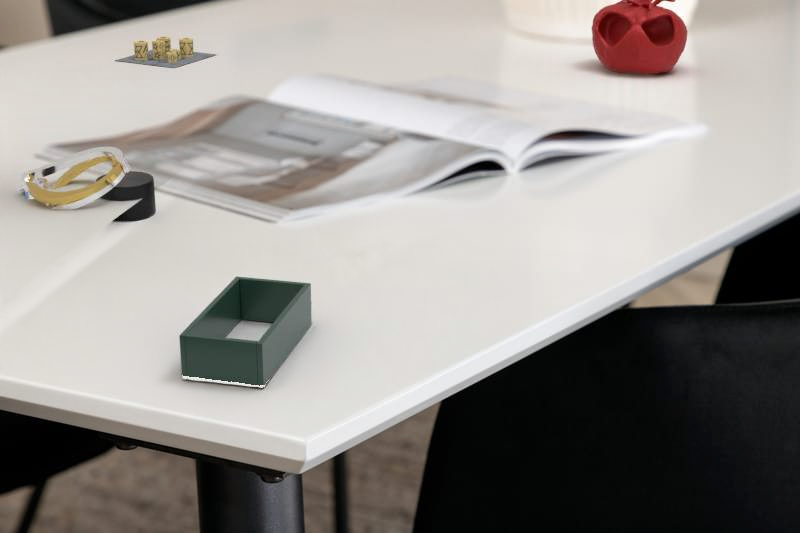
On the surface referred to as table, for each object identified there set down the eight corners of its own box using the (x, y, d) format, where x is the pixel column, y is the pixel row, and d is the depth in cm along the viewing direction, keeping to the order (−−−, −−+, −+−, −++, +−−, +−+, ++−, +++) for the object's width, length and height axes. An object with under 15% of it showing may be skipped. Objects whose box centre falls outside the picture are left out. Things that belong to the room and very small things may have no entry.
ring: (144, 157, 91) (44, 187, 92) (125, 120, 89) (23, 152, 91) (130, 210, 86) (23, 242, 87) (109, 171, 84) (1, 204, 85)
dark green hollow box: (181, 379, 65) (179, 335, 64) (238, 316, 72) (236, 276, 71) (263, 389, 64) (262, 343, 63) (311, 324, 71) (310, 283, 70)
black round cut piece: (88, 219, 88) (85, 185, 87) (113, 202, 92) (110, 168, 91) (141, 223, 87) (139, 189, 86) (164, 206, 91) (162, 172, 90)
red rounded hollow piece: (599, 56, 142) (605, -28, 138) (690, 63, 138) (697, -23, 135) (580, 74, 133) (585, -15, 129) (676, 82, 130) (684, -10, 126)
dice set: (132, 59, 139) (131, 42, 138) (160, 51, 143) (159, 34, 142) (169, 64, 136) (168, 46, 136) (197, 55, 141) (196, 38, 140)
